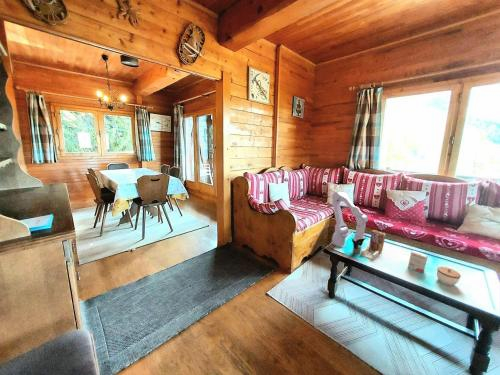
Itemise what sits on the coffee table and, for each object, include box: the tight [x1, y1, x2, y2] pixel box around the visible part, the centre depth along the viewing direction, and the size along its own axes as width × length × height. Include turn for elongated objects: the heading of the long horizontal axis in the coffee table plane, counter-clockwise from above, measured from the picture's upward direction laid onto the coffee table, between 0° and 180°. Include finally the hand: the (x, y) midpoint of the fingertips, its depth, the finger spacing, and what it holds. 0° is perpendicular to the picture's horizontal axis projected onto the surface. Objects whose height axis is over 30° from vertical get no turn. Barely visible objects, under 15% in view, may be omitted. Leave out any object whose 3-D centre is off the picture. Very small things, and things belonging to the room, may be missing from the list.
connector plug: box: [351, 245, 362, 257], centre depth 165 cm, size 4×9×6 cm, turn 131°
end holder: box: [361, 246, 379, 261], centre depth 164 cm, size 8×9×4 cm
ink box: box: [407, 250, 429, 274], centre depth 148 cm, size 9×5×12 cm, turn 42°
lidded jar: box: [436, 266, 462, 287], centre depth 136 cm, size 11×11×9 cm
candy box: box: [368, 229, 386, 253], centre depth 172 cm, size 9×4×15 cm, turn 39°
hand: (357, 247), depth 166 cm, fingers open, 7 cm apart
